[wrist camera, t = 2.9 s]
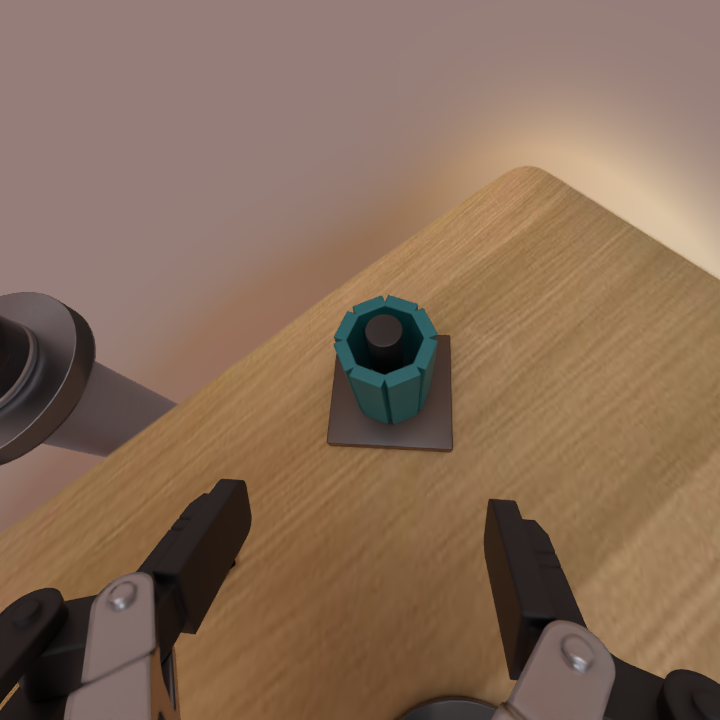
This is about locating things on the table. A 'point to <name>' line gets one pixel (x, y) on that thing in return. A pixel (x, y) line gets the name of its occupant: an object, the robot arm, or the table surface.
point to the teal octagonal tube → (401, 387)
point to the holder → (411, 434)
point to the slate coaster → (451, 710)
